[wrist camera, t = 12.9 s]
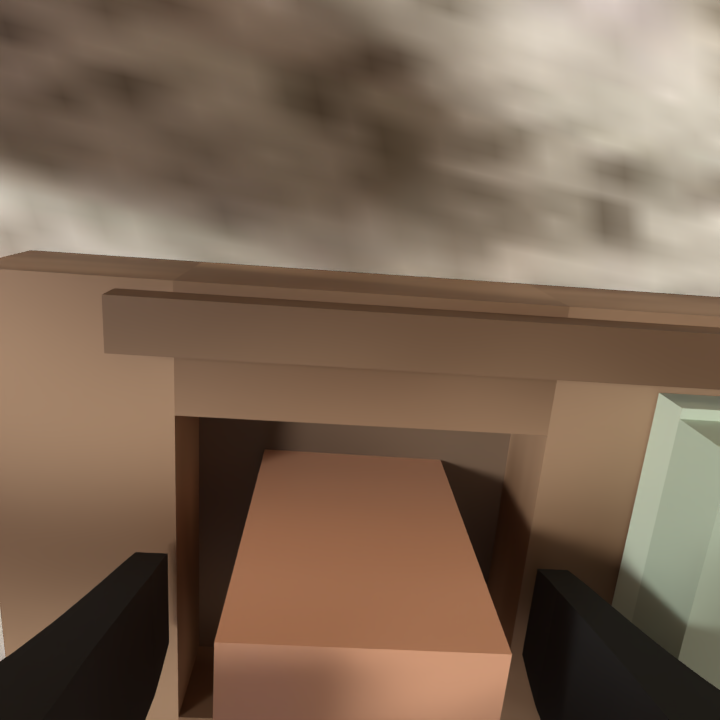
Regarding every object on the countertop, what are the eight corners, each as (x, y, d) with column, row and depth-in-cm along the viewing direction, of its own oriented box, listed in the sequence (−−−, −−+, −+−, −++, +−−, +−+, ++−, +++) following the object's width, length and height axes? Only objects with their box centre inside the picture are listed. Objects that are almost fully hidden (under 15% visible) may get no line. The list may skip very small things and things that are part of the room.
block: (421, 607, 15) (473, 867, 9) (258, 599, 15) (210, 862, 9) (440, 459, 14) (511, 655, 8) (264, 449, 14) (213, 642, 8)
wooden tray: (865, 733, 17) (970, 844, 14) (66, 712, 16) (7, 828, 13) (1027, 318, 14) (1205, 354, 11) (30, 250, 13) (-59, 271, 10)
